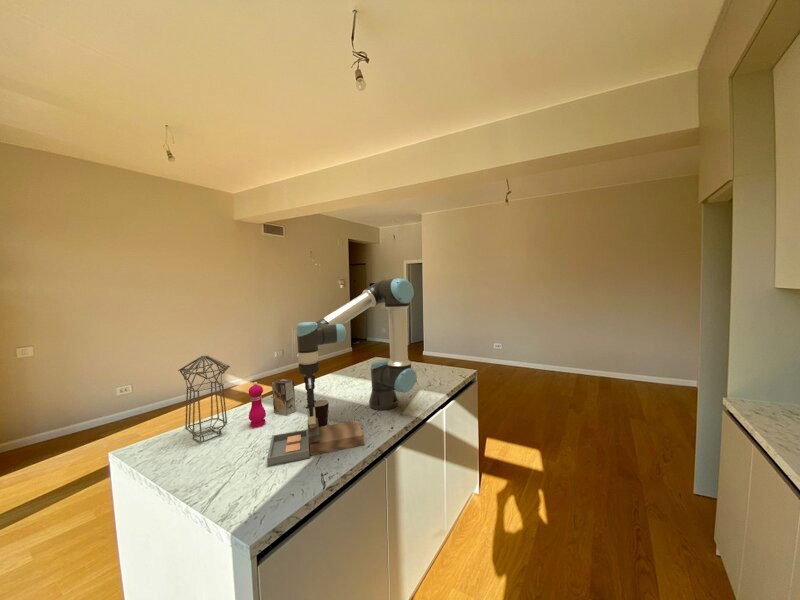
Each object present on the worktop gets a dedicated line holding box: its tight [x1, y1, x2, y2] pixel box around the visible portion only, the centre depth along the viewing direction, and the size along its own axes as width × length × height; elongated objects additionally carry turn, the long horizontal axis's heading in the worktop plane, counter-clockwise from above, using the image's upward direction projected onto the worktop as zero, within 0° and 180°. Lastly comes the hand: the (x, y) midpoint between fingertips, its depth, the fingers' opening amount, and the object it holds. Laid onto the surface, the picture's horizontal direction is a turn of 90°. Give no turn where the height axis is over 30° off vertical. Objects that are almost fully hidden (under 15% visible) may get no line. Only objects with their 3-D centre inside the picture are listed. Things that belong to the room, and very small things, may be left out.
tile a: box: [287, 435, 301, 445], centre depth 120 cm, size 5×5×2 cm
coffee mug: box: [315, 398, 330, 427], centre depth 139 cm, size 12×9×10 cm
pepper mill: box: [248, 381, 267, 429], centre depth 140 cm, size 7×7×20 cm
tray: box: [266, 428, 311, 467], centre depth 117 cm, size 14×18×3 cm
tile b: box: [286, 443, 300, 454], centre depth 113 cm, size 5×5×2 cm
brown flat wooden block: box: [309, 420, 365, 456], centre depth 122 cm, size 20×14×4 cm
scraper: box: [307, 402, 320, 444], centre depth 119 cm, size 4×16×14 cm, turn 18°
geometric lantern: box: [177, 355, 231, 444], centre depth 131 cm, size 16×16×35 cm
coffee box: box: [271, 378, 297, 416], centre depth 154 cm, size 9×6×16 cm
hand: (311, 421), depth 119 cm, fingers closed on scraper, 2 cm apart
